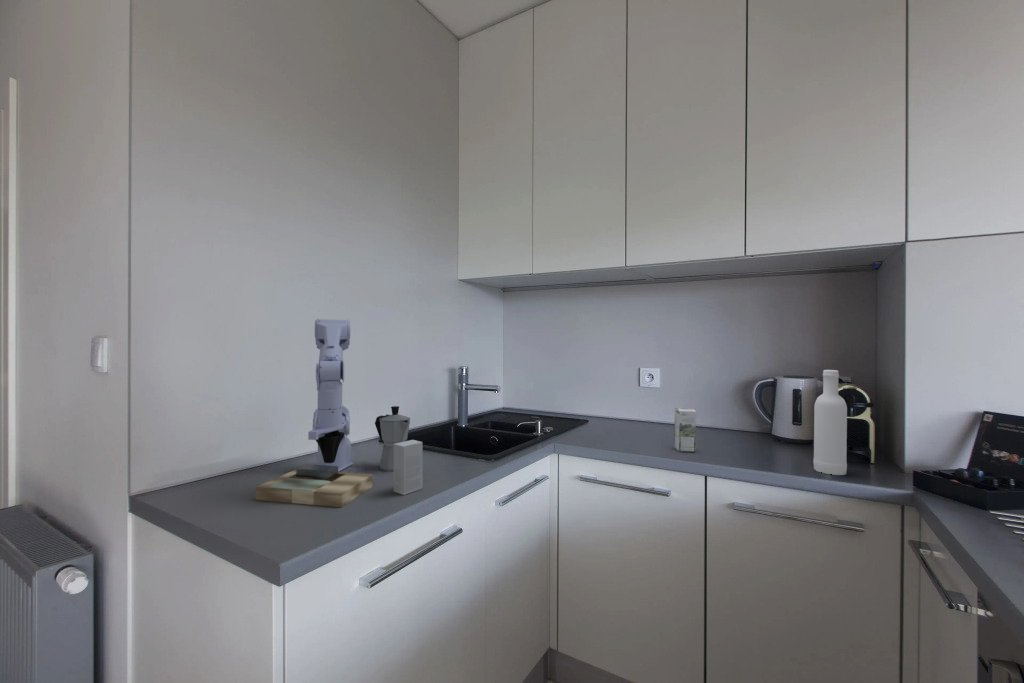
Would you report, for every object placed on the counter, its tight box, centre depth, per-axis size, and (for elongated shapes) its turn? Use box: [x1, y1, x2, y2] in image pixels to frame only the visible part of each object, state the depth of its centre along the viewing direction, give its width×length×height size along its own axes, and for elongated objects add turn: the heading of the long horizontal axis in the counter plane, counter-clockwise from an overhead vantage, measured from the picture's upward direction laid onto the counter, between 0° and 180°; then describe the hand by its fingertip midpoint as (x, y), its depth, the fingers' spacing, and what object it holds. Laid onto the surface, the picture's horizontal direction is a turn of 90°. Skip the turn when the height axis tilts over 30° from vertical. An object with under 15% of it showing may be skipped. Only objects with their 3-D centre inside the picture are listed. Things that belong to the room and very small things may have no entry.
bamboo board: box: [255, 469, 374, 508], centre depth 103 cm, size 14×22×3 cm, turn 80°
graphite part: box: [295, 463, 338, 480], centre depth 107 cm, size 4×9×2 cm, turn 80°
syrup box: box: [673, 407, 697, 453], centre depth 148 cm, size 6×6×14 cm
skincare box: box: [393, 439, 424, 496], centre depth 106 cm, size 6×4×12 cm
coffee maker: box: [374, 405, 411, 472], centre depth 126 cm, size 15×9×18 cm, turn 56°
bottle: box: [812, 369, 848, 476], centre depth 125 cm, size 8×8×30 cm
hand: (329, 462), depth 106 cm, fingers closed
